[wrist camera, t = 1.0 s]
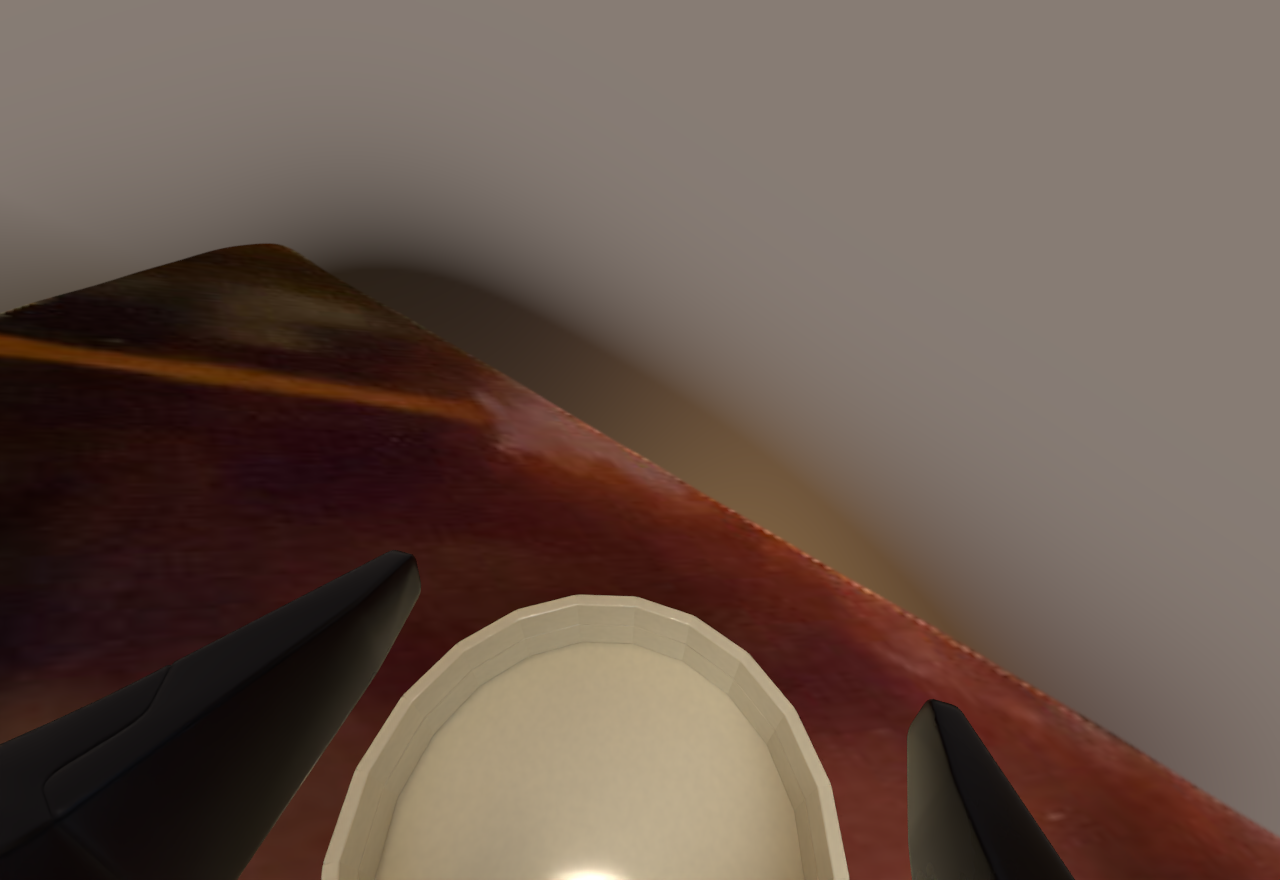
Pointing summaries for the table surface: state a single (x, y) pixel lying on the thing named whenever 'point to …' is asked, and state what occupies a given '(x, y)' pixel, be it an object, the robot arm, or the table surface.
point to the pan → (590, 760)
